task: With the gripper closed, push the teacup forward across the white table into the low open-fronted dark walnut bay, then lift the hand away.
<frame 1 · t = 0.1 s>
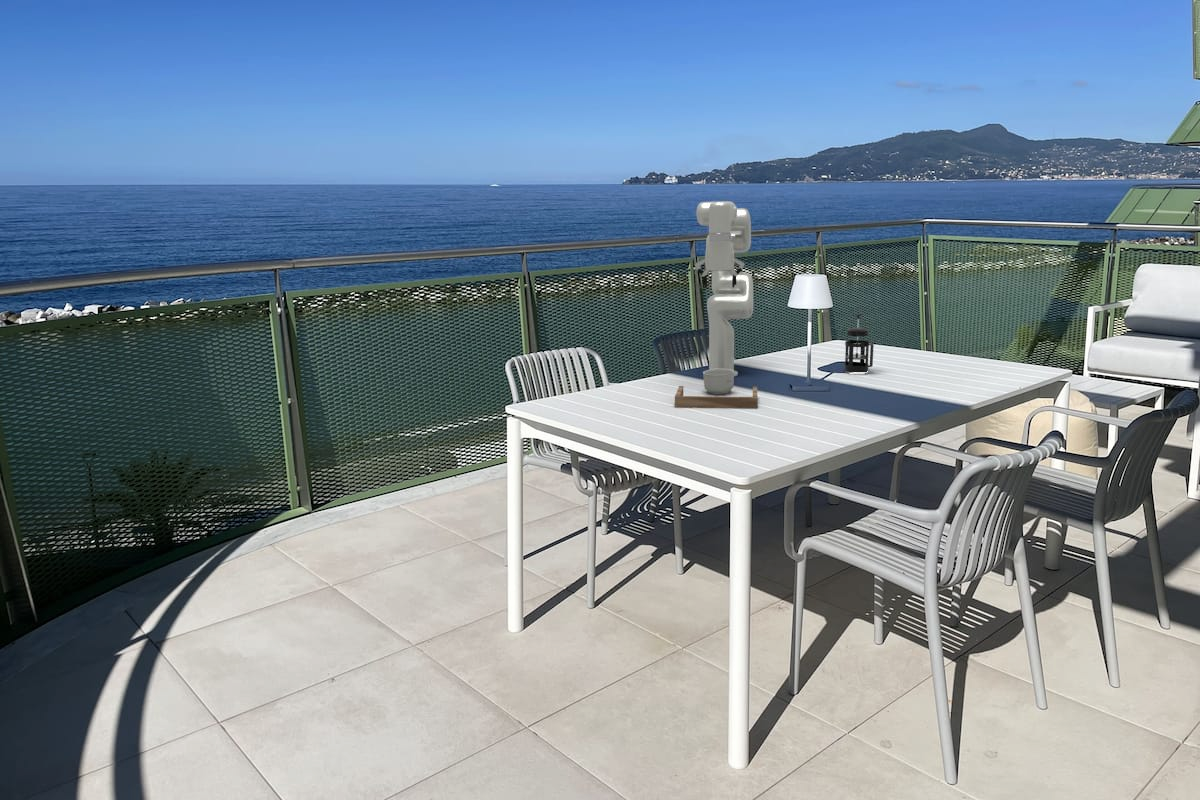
hand: (719, 287, 305), 37 cm above the table, tool pointing down, fingers open, 9 cm apart
teacup: (718, 392, 307), on the table
walnut bay: (716, 401, 293), on the table
french press: (857, 373, 334), on the table
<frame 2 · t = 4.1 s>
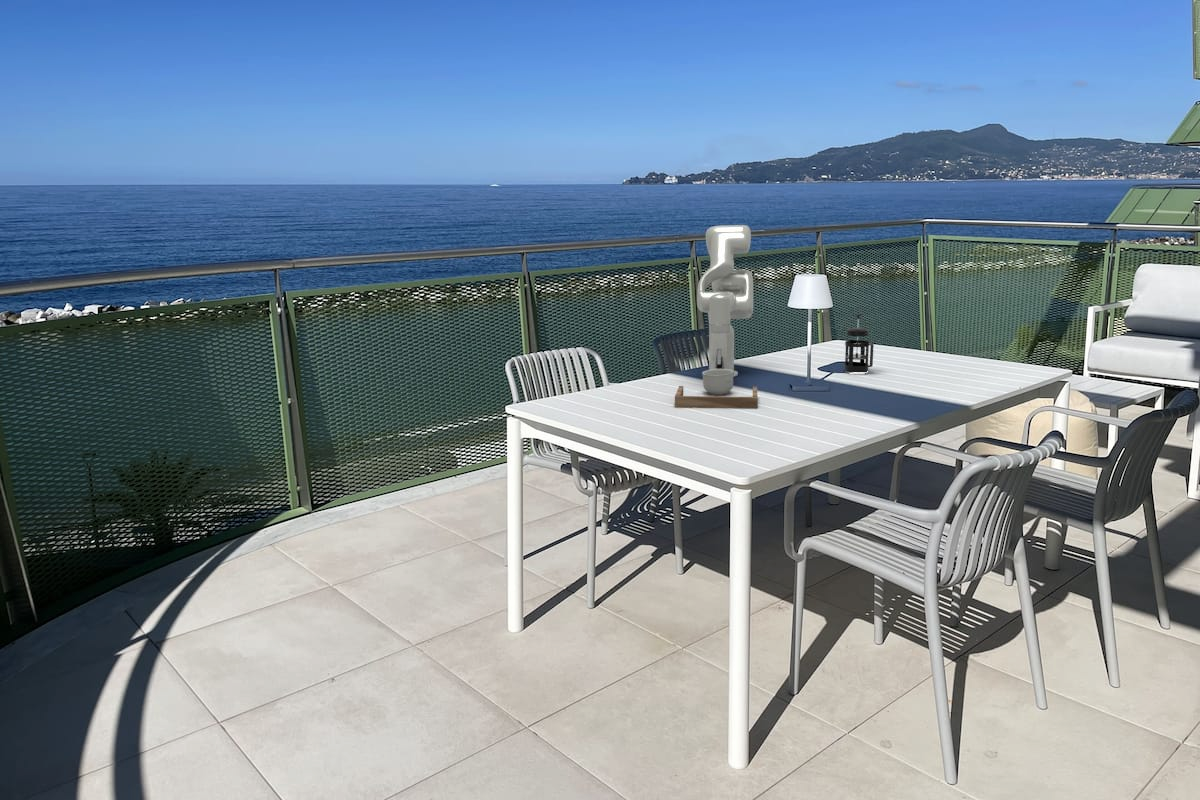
hand: (719, 378, 314), 3 cm above the table, tool pointing down, fingers closed
teacup: (718, 392, 306), on the table, touching gripper
everything else where it was.
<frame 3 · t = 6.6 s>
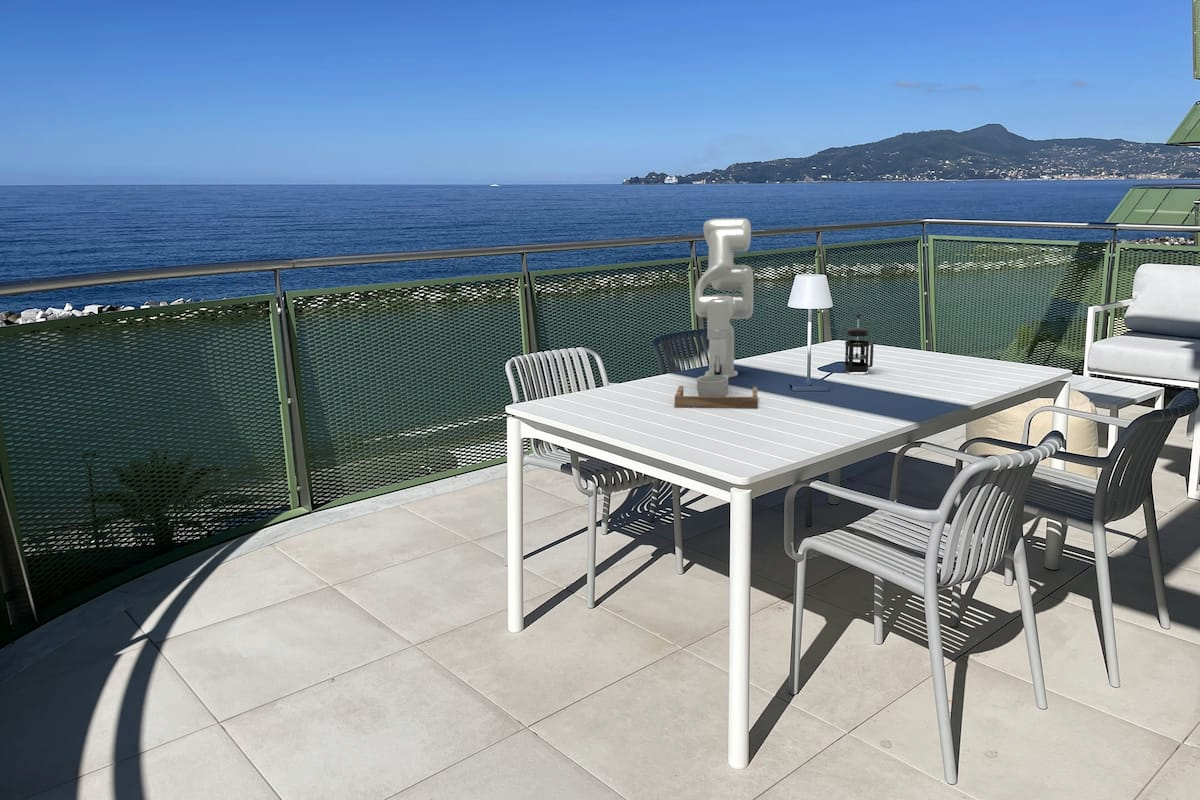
hand: (718, 386, 302), 3 cm above the table, tool pointing down, fingers closed
teacup: (711, 399, 296), on the table, touching gripper
everything else where it was.
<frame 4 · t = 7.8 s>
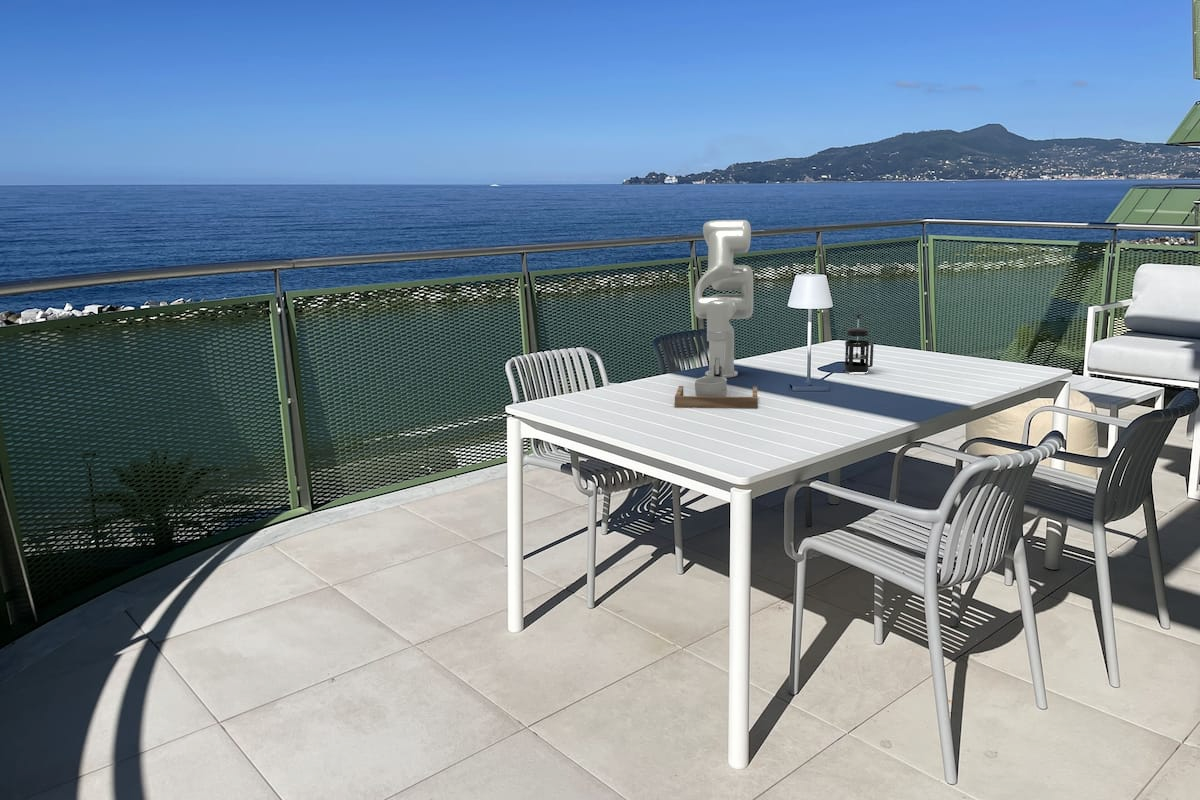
hand: (717, 388, 299), 3 cm above the table, tool pointing down, fingers closed
teacup: (710, 401, 293), on the table, touching gripper
everything else where it was.
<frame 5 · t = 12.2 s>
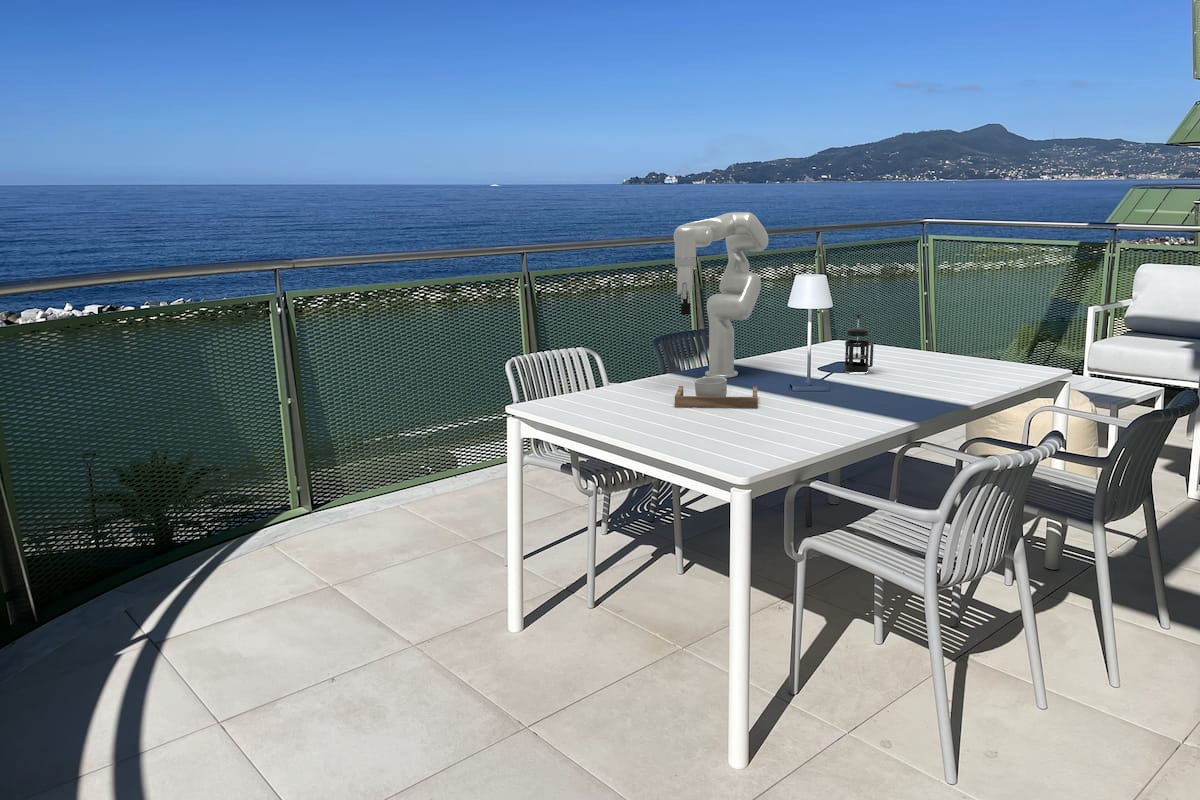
hand: (685, 314, 309), 27 cm above the table, tool pointing down, fingers closed
teacup: (710, 401, 293), on the table
everything else where it was.
at the end: teacup inside the target area (2.3 cm from its centre), on the table; teacup tilted 0° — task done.
